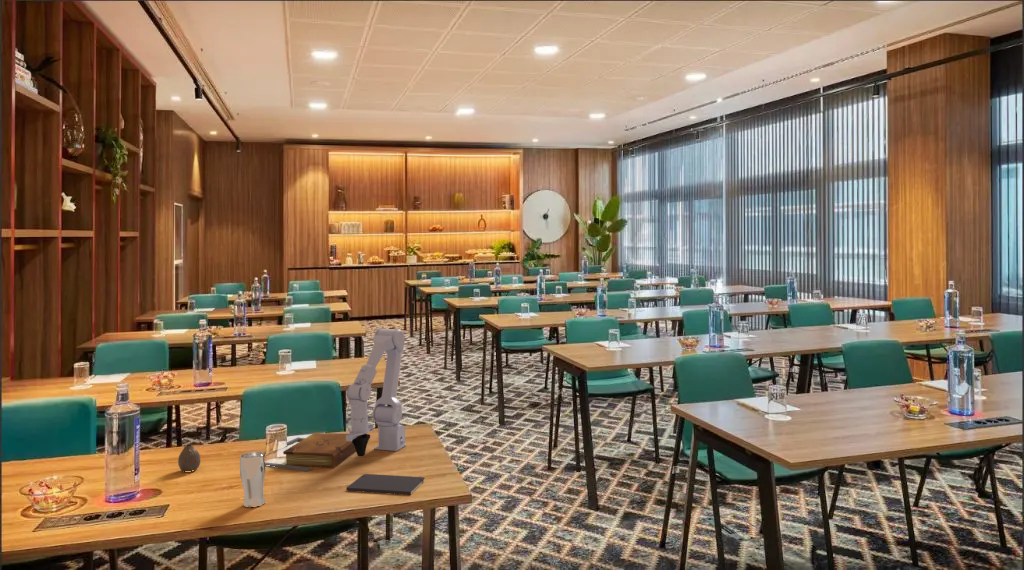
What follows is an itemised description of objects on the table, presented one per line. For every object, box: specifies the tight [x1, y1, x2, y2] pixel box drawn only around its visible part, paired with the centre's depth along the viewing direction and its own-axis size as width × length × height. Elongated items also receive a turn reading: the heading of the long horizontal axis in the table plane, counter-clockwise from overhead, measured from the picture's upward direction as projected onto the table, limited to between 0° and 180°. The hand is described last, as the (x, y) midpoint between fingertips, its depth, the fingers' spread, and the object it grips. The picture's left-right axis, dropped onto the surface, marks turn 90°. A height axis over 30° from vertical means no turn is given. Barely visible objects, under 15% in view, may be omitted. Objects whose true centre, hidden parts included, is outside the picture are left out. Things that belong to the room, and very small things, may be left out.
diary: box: [282, 432, 356, 469], centre depth 248 cm, size 23×19×6 cm
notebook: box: [345, 473, 425, 496], centre depth 217 cm, size 13×2×21 cm
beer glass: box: [239, 450, 266, 507], centre depth 204 cm, size 7×7×15 cm
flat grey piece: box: [263, 437, 312, 472], centre depth 251 cm, size 27×30×1 cm
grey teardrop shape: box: [177, 444, 201, 472], centre depth 236 cm, size 7×7×9 cm
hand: (361, 455), depth 242 cm, fingers closed
